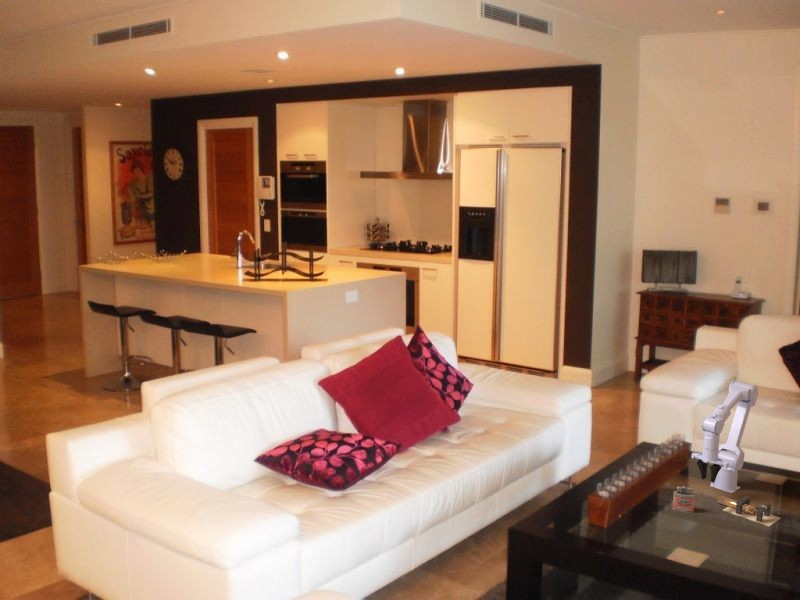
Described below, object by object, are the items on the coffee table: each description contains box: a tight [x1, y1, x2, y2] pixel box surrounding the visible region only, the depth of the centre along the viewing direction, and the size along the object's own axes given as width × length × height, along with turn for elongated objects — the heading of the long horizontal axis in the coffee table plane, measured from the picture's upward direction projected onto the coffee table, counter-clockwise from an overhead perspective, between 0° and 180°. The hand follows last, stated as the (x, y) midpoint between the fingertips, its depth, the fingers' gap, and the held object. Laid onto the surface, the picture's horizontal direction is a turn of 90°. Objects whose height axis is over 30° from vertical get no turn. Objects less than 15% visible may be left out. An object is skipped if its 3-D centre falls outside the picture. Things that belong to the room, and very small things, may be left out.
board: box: [722, 495, 781, 527], centre depth 317 cm, size 18×10×5 cm, turn 42°
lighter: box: [672, 486, 696, 514], centre depth 320 cm, size 8×3×10 cm, turn 68°
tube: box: [716, 495, 757, 515], centre depth 321 cm, size 14×3×3 cm, turn 42°
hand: (708, 480), depth 329 cm, fingers open, 3 cm apart
